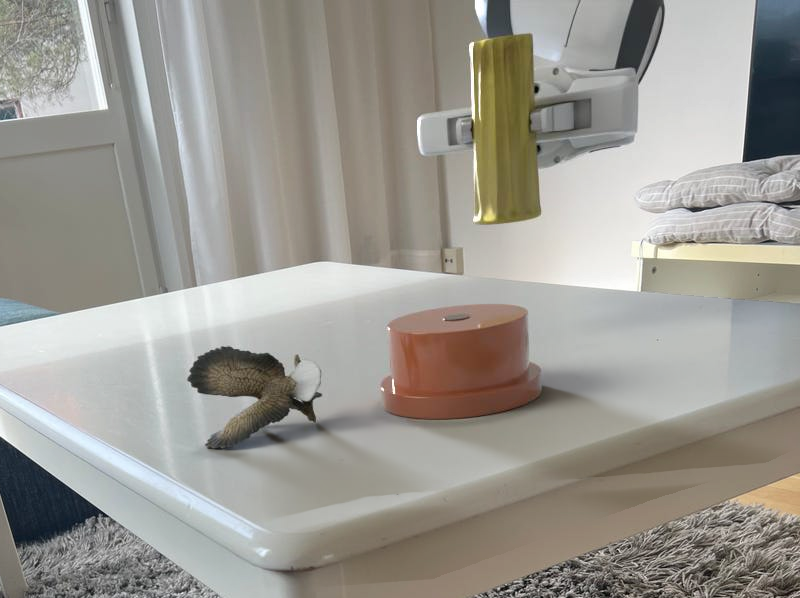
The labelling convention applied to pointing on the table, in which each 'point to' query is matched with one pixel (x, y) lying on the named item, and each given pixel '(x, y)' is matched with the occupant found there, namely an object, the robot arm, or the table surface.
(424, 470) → the table surface
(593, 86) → the robot arm
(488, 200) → the vase
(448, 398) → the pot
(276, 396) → the eagle figurine
